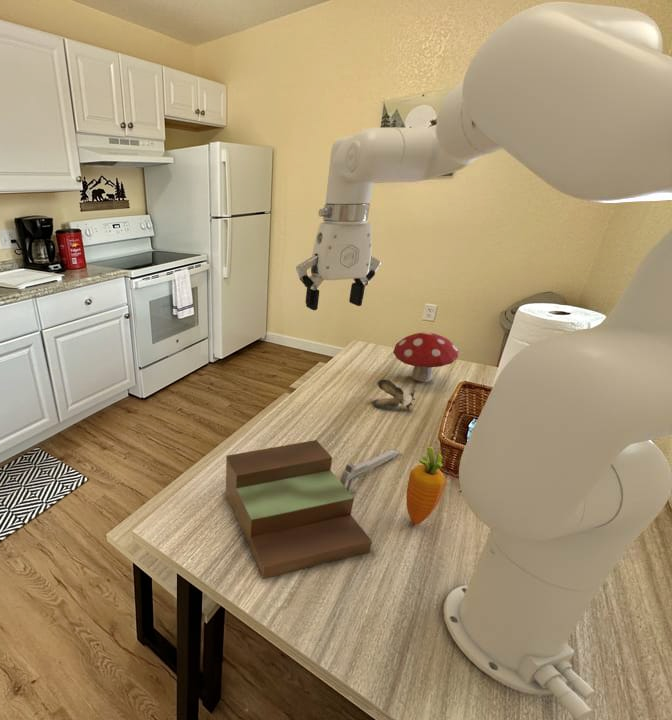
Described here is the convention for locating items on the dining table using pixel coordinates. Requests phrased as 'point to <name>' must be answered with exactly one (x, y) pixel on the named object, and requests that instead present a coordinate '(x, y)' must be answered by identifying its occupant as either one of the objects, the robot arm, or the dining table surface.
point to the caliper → (364, 468)
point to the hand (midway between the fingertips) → (333, 306)
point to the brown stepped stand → (292, 508)
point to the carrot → (425, 487)
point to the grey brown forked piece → (395, 392)
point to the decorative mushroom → (425, 353)
